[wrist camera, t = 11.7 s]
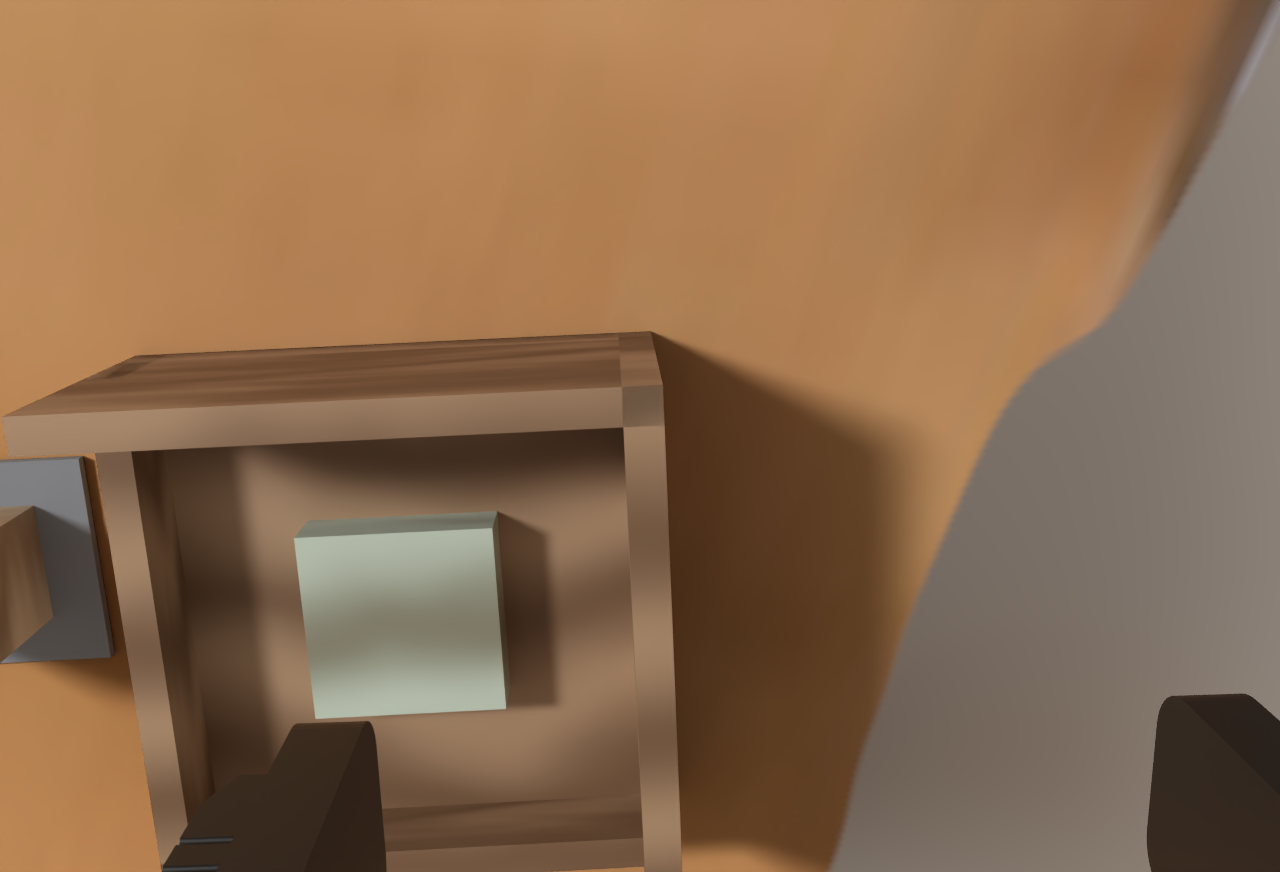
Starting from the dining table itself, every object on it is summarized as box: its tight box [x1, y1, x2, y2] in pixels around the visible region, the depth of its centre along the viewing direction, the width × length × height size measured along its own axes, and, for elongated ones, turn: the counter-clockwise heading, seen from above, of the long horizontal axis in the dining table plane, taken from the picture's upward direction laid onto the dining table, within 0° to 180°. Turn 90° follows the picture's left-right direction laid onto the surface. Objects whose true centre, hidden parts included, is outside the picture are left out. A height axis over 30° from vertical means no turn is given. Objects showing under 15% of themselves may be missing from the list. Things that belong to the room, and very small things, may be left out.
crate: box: [2, 331, 682, 872], centre depth 42 cm, size 19×19×10 cm
